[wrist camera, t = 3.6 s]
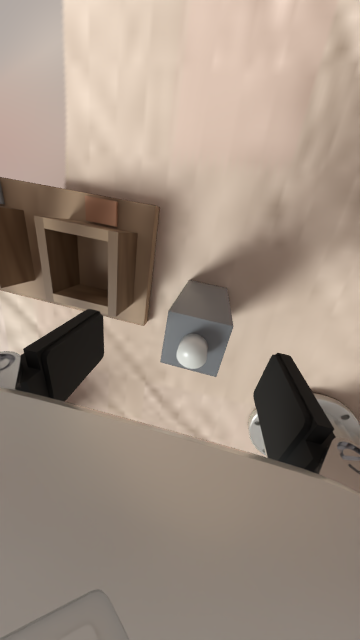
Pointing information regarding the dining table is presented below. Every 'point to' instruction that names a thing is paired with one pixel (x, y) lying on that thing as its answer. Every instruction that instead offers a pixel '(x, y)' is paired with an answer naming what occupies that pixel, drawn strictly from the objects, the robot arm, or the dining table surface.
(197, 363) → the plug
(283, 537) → the robot arm
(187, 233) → the dining table surface
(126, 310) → the socket board
